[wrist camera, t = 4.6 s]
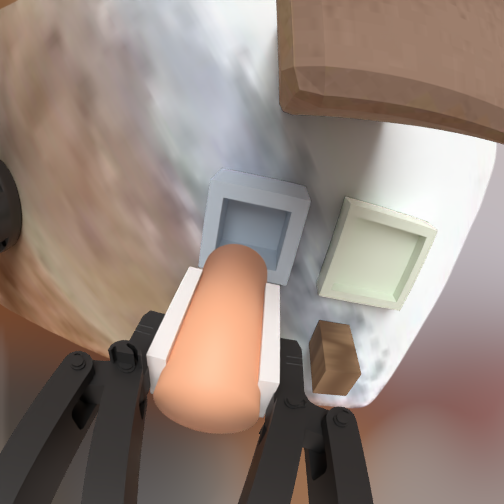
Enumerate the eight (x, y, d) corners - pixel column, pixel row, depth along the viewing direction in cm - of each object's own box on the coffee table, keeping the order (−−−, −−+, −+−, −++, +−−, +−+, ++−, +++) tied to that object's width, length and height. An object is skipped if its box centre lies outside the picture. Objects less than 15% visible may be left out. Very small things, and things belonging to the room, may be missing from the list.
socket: (210, 243, 30) (198, 266, 26) (222, 168, 26) (210, 179, 22) (285, 259, 30) (286, 285, 26) (305, 186, 26) (311, 201, 22)
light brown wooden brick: (309, 343, 35) (312, 392, 28) (319, 320, 33) (326, 370, 26) (337, 347, 35) (345, 395, 28) (349, 325, 33) (361, 374, 26)
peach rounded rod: (201, 291, 19) (156, 420, 10) (208, 237, 17) (149, 366, 8) (260, 303, 19) (248, 439, 10) (273, 251, 17) (270, 391, 9)
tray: (316, 282, 31) (318, 296, 29) (345, 196, 26) (351, 204, 24) (393, 298, 31) (399, 310, 29) (427, 221, 27) (437, 230, 24)
